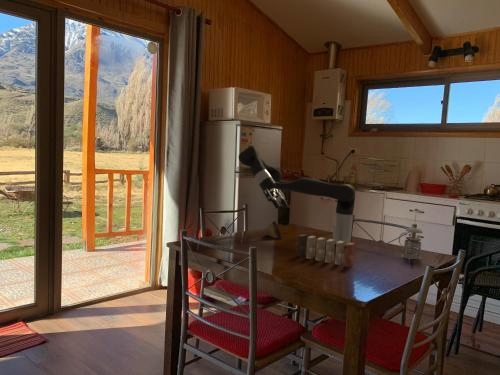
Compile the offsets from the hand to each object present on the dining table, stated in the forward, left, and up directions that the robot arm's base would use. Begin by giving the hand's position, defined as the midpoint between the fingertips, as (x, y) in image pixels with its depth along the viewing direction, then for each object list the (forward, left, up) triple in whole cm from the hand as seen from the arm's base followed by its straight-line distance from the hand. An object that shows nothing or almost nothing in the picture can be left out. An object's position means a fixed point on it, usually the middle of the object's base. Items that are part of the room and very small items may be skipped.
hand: (282, 207), depth 195 cm
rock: (-28, +16, -22) cm, 39 cm away
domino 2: (+14, +8, -22) cm, 27 cm away
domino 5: (+26, +15, -22) cm, 37 cm away
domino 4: (+22, +13, -22) cm, 34 cm away
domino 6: (+30, +17, -22) cm, 41 cm away
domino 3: (+18, +10, -22) cm, 30 cm away
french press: (+29, +60, -22) cm, 70 cm away
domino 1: (+10, +6, -22) cm, 25 cm away
